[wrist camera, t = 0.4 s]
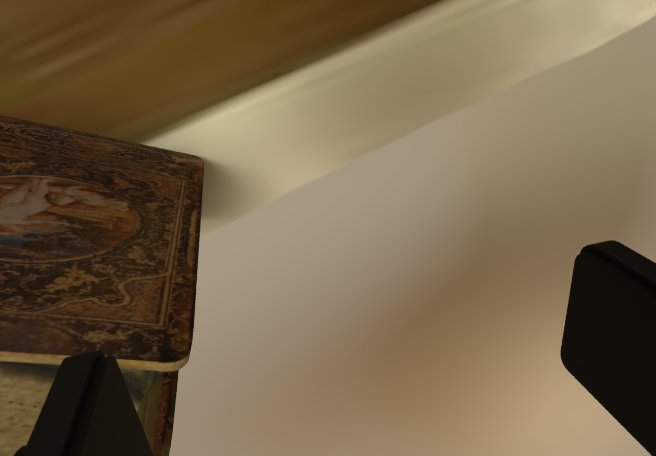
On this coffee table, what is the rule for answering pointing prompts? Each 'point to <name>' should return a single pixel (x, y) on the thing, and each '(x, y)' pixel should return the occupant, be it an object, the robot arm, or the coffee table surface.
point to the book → (94, 268)
